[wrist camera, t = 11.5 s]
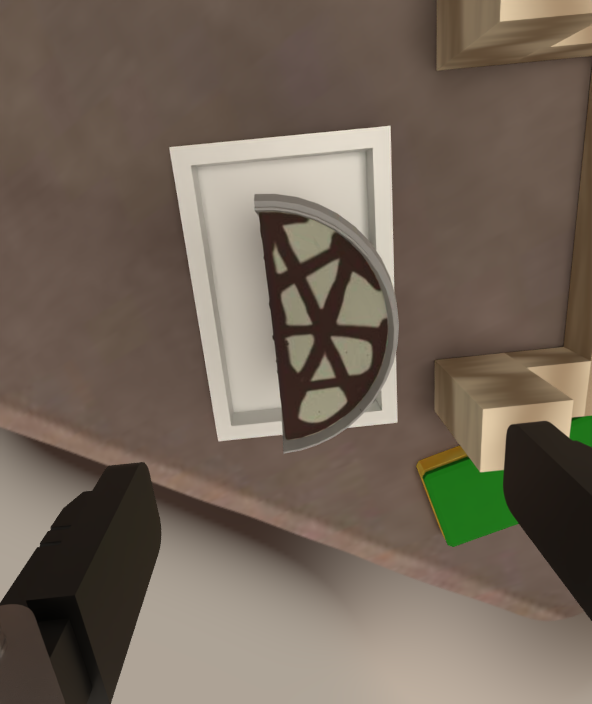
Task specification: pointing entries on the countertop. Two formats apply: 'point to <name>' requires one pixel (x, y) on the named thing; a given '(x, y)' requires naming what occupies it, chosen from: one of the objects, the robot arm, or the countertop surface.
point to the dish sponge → (474, 491)
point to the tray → (247, 254)
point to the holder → (588, 254)
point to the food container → (324, 317)
